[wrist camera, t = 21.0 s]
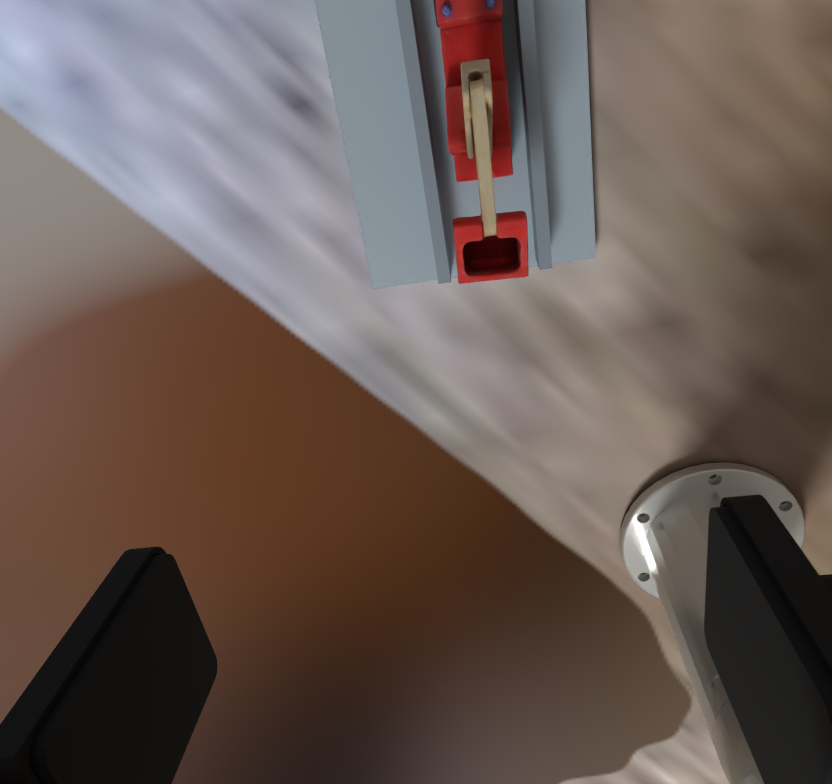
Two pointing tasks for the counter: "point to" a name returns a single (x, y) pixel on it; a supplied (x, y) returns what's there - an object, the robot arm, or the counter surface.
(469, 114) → the toy fire truck
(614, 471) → the counter surface
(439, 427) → the counter surface
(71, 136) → the counter surface
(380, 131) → the board
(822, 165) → the counter surface
